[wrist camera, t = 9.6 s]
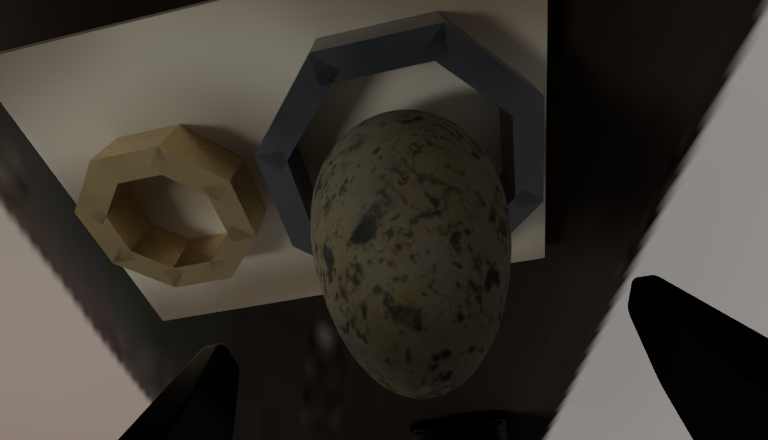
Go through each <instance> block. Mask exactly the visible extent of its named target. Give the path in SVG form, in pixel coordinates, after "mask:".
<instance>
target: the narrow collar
mask: <svg viewBox="0 0 768 440" xmlns="http://www.w3.org/2000/svg"><path fill="white" fill-rule="evenodd" d="M158 175H163V176H166V177H168V178H170V179H172V180H174V181H176V182H178V183H180V184H182V185H185V186H187V187H189V188H191V189H193V190H195V191H197V192H199V193H202V194H204V195H206V196H208V197H209V199H210V201H211V203H212V205H213V207H214V209H215V210H216V212H217V214H218V216H219V218H220V220H221V222H222V224H223V226H224V228H225V230H226V233H222V234H216V235H211V236H206V237H200V238H195V239H188V238H185V237H183V236H181V235H178V234H176V233H174V232H172V231H169V230H167V229H165V228H162V227H160V226H158V225H155V224H153V223H151V221H150V220H149V218H148V217H147V215H146V214H145V212H144V210H143V209H142V207H141V206H140V204H139V203H138V201H137V199H136V198H135V196H134V195H133V193H132V192H131V187H132V185H133V182H134V180H138V179H143V178H148V177H153V176H158ZM266 210H267V209H266V207H265V205H264V202H263V200H262V198H261V196H260V193H259V191H258V189H257V186H256V184H255V182H254V180H253V177H252V175H251V173H250V171H249V168H248V166H247V164H246V161H245V159H244V157H242V156H240V155H239V154H237V153H235V152H233V151H231V150H229V149H227V148H225V147H223V146H221V145H219V144H217V143H215V142H213V141H211V140H210V139H208V138H206V137H204V136H202V135H200V134H198V133H196V132H194V131H192V130H190V129H188V128H186V127H184V126H183V125H181V124H178V125H173V126H168V127H164V128H159V129H154V130H150V131H145V132H141V133H136V134H131V135H127V136H122V137H118V138H116V139H115V140H114V141H113V142H112V143H110V144H109V145H108V146H107V147H106V148H104V149H103V150H102V151H101V152H100V153H98V154H97V155H96V156H95V157H94V158H92V159H91V160H90V162H89V165H88V169H87V172H86V175H85V179H84V182H83V186H82V189H81V192H80V196H79V199H78V203H77V206H76V209H75V214H76V215H77V216H78V218H79V219H80V220H81V222H82V223H83V224H84V226H85V227H86V228H87V230H88V231H89V232H90V233H91V235H92V236H93V237H94V239H95V240H96V241H97V243H98V244H99V245H100V247H101V248H102V249H103V251H104V252H105V253H106V255H107V256H108V257H109V259H110V260H111V261H112V263H114V264H116V265H119V266H121V267H124V268H126V269H129V270H132V271H134V272H137V273H139V274H142V275H144V276H147V277H149V278H152V279H155V280H157V281H160V282H162V283H165V284H167V285H170V286H173V287H175V288H176V287H182V286H187V285H193V284H199V283H205V282H210V281H216V280H222V279H228V278H232V277H233V275H234V273H235V272H236V270H237V268H238V267H239V265H240V263H241V262H242V260H243V258H244V257H245V255H246V253H247V252H248V250H249V248H250V247H251V245H252V243H253V242H254V240H255V238H256V237H257V234H258V232H259V229H260V226H261V224H262V221H263V218H264V216H265V213H266Z"/></svg>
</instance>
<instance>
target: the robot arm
mask: <svg viewBox="0 0 768 440" xmlns="http://www.w3.org/2000/svg"><path fill="white" fill-rule="evenodd" d="M628 310H629V314H630V317H631V319H632V321H633V324H634V326H635V328H636V330H637V333H638V335H639V337H640V339H641V342H642V344H643V346H644V348H645V350H646V353H647V355H648V357H649V359H650V362H651V364H652V366H653V368H654V371H655V373H656V375H657V377H658V379H659V381H660V383H661V385H662V387H663V389H664V390H665V392H666V394H667V396H668V398H669V399H670V401H671V403H672V404H673V406H674V408H675V409H676V411H677V413H678V415H679V416H680V418H681V420H682V421H683V423H684V424H685V426H686V428H687V430H688V432H689V433H690V435H691V437H692V438H693V440H768V338H767V337H765V336H763V335H761V334H760V333H758V332H756V331H754V330H752V329H751V328H749V327H747V326H745V325H744V324H742V323H740V322H738V321H736V320H735V319H733V318H731V317H729V316H728V315H726V314H724V313H722V312H720V311H719V310H717V309H715V308H713V307H712V306H710V305H708V304H706V303H705V302H703V301H701V300H699V299H697V298H696V297H694V296H692V295H690V294H689V293H686V292H685V291H683V290H681V289H680V288H678V287H676V286H674V285H673V284H671V283H669V282H667V281H665V280H664V279H662V278H660V277H658V276H655V275H650V276H644V277H637V278H635V279H634V280H633V281H632V285H631V291H630V296H629V302H628ZM238 383H239V367H238V364H237V362H236V361H235V359H234V358H233V356H232V355H231V353H230V352H229V350H228V348H227V347H226V346H225V345H224V344H222V343H219V344H213V345H207V346H205V347H203V348H202V349H201V350H200V351H199V352H198V354H197V355H196V356H195V357H194V358H193V359H192V360H191V361H190V362H189V363H188V364H187V366H186V367H185V368H184V369H183V370H182V371H181V372H180V373H179V374H178V375H177V376H176V377H175V379H174V380H173V381H172V382H171V383H170V384H169V385H168V386H167V387H166V388H165V389H164V390H163V392H162V393H161V394H160V395H159V396H158V397H157V398H156V399H155V400H154V401H153V402H152V404H151V405H150V406H149V407H148V408H147V409H146V410H145V411H144V412H143V413H142V414H141V415H140V417H139V418H138V419H137V420H136V421H135V422H134V423H133V424H132V425H131V426H130V427H129V429H128V430H127V431H126V432H125V433H124V434H123V435H122V436H121V437H120V438H119V439H118V440H232V438H233V430H234V421H235V412H236V402H237V393H238ZM410 430H411V437H412V440H507V429H506V420H505V417H504V415H503V414H500V413H497V414H489V415H481V416H474V417H466V418H458V419H451V420H443V421H435V422H428V423H420V424H414V425H412V426H411V427H410Z"/></svg>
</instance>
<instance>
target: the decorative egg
mask: <svg viewBox="0 0 768 440" xmlns="http://www.w3.org/2000/svg"><path fill="white" fill-rule="evenodd" d="M310 228H311V244H312V251H313V258H314V263H315V268H316V272H317V276H318V279H319V283H320V286H321V289H322V293H323V296H324V299H325V302H326V304H327V307H328V310H329V312H330V315H331V317H332V319H333V321H334V324H335V326H336V328H337V330H338V332H339V334H340V336H341V338H342V339H343V341H344V343H345V344H346V346H347V347H348V349H349V351H350V352H351V354H352V355H353V357H354V358H355V359H356V360H357V362H358V363H359V364H360V366H361V367H362V368H363V369H364V370H365V371H366V372H367V373H368V374H369V375H370V376H371V377H372V378H373V379H374V380H376V381H377V382H378V383H380V384H381V385H382V386H384V387H385V388H387V389H389V390H390V391H392V392H395V393H397V394H400V395H402V396H406V397H411V398H417V399H428V398H434V397H438V396H441V395H444V394H446V393H449V392H450V391H452V390H454V389H455V388H457V387H459V386H460V385H461V384H462V383H464V382H465V381H466V380H467V379H468V378H469V377H470V376H471V375H472V374H473V373H474V371H475V370H476V369H477V368H478V367H479V365H480V364H481V362H482V361H483V359H484V357H485V356H486V354H487V352H488V351H489V349H490V347H491V345H492V342H493V340H494V338H495V336H496V333H497V331H498V328H499V325H500V322H501V319H502V316H503V313H504V310H505V306H506V300H507V294H508V290H509V277H510V267H511V247H512V243H511V225H510V218H509V211H508V205H507V201H506V197H505V193H504V190H503V187H502V184H501V181H500V178H499V176H498V174H497V171H496V169H495V167H494V165H493V164H492V162H491V160H490V158H489V157H488V155H487V154H486V152H485V151H484V150H483V148H482V147H481V146H480V144H479V143H478V142H477V141H476V140H475V139H474V138H473V137H472V136H471V135H470V134H469V133H467V132H466V131H465V130H464V129H463V128H461V127H460V126H458V125H457V124H455V123H453V122H452V121H450V120H448V119H446V118H444V117H441V116H439V115H436V114H433V113H429V112H425V111H420V110H394V111H388V112H384V113H381V114H378V115H375V116H373V117H370V118H368V119H366V120H364V121H362V122H361V123H359V124H358V125H356V126H355V127H353V128H352V129H351V130H349V131H348V132H347V133H346V134H345V135H344V136H343V137H342V138H341V139H340V140H339V141H338V142H337V143H336V145H335V146H334V147H333V148H332V150H331V151H330V153H329V154H328V156H327V158H326V159H325V161H324V163H323V165H322V167H321V170H320V172H319V175H318V178H317V181H316V184H315V188H314V192H313V198H312V206H311V219H310Z"/></svg>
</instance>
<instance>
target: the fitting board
mask: <svg viewBox="0 0 768 440" xmlns="http://www.w3.org/2000/svg"><path fill="white" fill-rule="evenodd" d="M433 11H437V12H438V13H440V14H441V15H442V16H444V17H445V18H446V19H448V20H449V21H450V22H452V23H453V24H454V25H456V26H457V27H458V28H460V29H461V30H462V31H464V32H465V33H466V34H468V35H469V36H470V37H472V38H473V39H474V40H476V41H477V42H478V43H480V44H481V45H482V46H484V47H485V48H486V49H488V50H489V51H490V52H491V53H493V54H494V55H495V56H497V57H498V58H499V59H501V60H502V61H503V62H505V63H506V64H507V65H509V66H510V67H511V68H513V69H514V70H515V71H517V72H518V73H519V74H521V75H522V76H523V77H525V78H526V79H527V80H528V81H529V82H530V83H531V84H532V85H533V86H534V87H535V88H536V89H537V90H538V91H539V92H540V93H541V94H542V95H543V96H544V187H543V202H542V203H541V204H540V205H539V206H538V207H537V208H536V209H535V210H534V211H533V212H532V213H531V214H530V215H529V216H528V217H527V218H526V219H525V220H524V221H523V222H522V223H521V224H520V225H519V226H518V227H517V228H516V229H515V230H514V231H513V232H512V233H511V243H512V247H511V263H515V262H521V261H527V260H533V259H539V258H545V190H546V101H547V12H548V0H208V1H204V2H200V3H196V4H192V5H188V6H184V7H180V8H176V9H172V10H168V11H164V12H160V13H156V14H151V15H147V16H143V17H139V18H135V19H131V20H127V21H123V22H119V23H115V24H111V25H107V26H103V27H99V28H94V29H90V30H86V31H82V32H78V33H74V34H70V35H66V36H62V37H58V38H54V39H50V40H46V41H42V42H37V43H33V44H29V45H25V46H21V47H17V48H13V49H9V50H5V51H1V52H0V102H1V103H2V104H3V106H4V107H5V109H6V110H7V111H8V113H9V114H10V115H11V117H12V118H13V119H14V121H15V122H16V123H17V125H18V126H19V127H20V129H21V130H22V131H23V133H24V134H25V135H26V137H27V138H28V140H29V141H30V142H31V144H32V145H33V146H34V148H35V149H36V150H37V152H38V153H39V154H40V156H41V157H42V158H43V160H44V161H45V162H46V164H47V165H48V166H49V168H50V169H51V170H52V172H53V173H54V175H55V176H56V177H57V179H58V180H59V181H60V183H61V184H62V185H63V187H64V188H65V189H66V191H67V192H68V193H69V195H70V196H71V197H72V199H73V200H74V201H75V203H76V204H77V203H78V199H79V196H80V192H81V189H82V186H83V182H84V179H85V175H86V172H87V169H88V165H89V162H90V160H91V159H92V158H94V157H95V156H96V155H97V154H98V153H100V152H101V151H102V150H103V149H104V148H106V147H107V146H108V145H109V144H110V143H112V142H113V141H114V140H115V139H116V138H118V137H122V136H127V135H131V134H136V133H141V132H145V131H150V130H154V129H159V128H164V127H168V126H173V125H178V124H181V125H183V126H184V127H186V128H188V129H190V130H192V131H194V132H196V133H198V134H200V135H202V136H204V137H206V138H208V139H210V140H211V141H213V142H215V143H217V144H219V145H221V146H223V147H225V148H227V149H229V150H231V151H233V152H235V153H237V154H239V155H240V156H242V157H244V159H245V161H246V164H247V166H248V168H249V171H250V173H251V175H252V177H253V180H254V182H255V184H256V186H257V189H258V191H259V193H260V196H261V198H262V200H263V202H264V205H265V207H266V209H267V210H266V213H265V216H264V218H263V221H262V224H261V226H260V229H259V232H258V234H257V237H256V238H255V240H254V242H253V243H252V245H251V247H250V248H249V250H248V252H247V253H246V255H245V257H244V258H243V260H242V262H241V263H240V265H239V267H238V268H237V270H236V272H235V273H234V275H233V277H232V278H228V279H222V280H216V281H210V282H205V283H199V284H193V285H187V286H182V287H176V288H175V287H173V286H170V285H167V284H165V283H162V282H160V281H157V280H155V279H152V278H149V277H147V276H144V275H142V274H139V273H137V272H134V271H132V270H129V269H126V268H124V267H123V268H124V269H125V270H126V272H127V273H128V274H129V276H130V277H131V278H132V280H133V281H134V282H135V284H136V285H137V286H138V288H139V289H140V290H141V292H142V293H143V294H144V296H145V297H146V298H147V300H148V301H149V303H150V304H151V305H152V307H153V308H154V309H155V311H156V312H157V313H158V315H159V316H160V317H161V319H162V320H163V321H165V320H171V319H178V318H184V317H190V316H196V315H202V314H208V313H214V312H220V311H226V310H232V309H238V308H244V307H250V306H256V305H262V304H268V303H274V302H280V301H286V300H292V299H298V298H304V297H310V296H316V295H322V294H323V293H322V289H321V286H320V283H319V279H318V276H317V272H316V268H315V263H314V258H313V256H312V255H310V254H308V253H306V252H303V251H301V250H299V249H297V248H295V247H293V246H292V244H291V241H290V239H289V236H288V234H287V232H286V229H285V227H284V225H283V222H282V220H281V218H280V215H279V213H278V211H277V208H276V206H275V203H274V201H273V199H272V196H271V194H270V192H269V189H268V187H267V185H266V182H265V180H264V177H263V175H262V173H261V170H260V168H259V166H258V163H257V161H256V159H255V156H254V155H255V154H256V152H257V150H258V148H259V146H260V144H261V142H262V140H263V138H264V136H265V134H266V133H267V131H268V129H269V127H270V125H271V123H272V121H273V119H274V118H275V116H276V114H277V112H278V110H279V108H280V106H281V104H282V103H283V101H284V99H285V97H286V95H287V93H288V91H289V89H290V87H291V86H292V84H293V82H294V80H295V78H296V76H297V74H298V72H299V70H300V69H301V67H302V65H303V63H304V61H305V59H306V57H307V55H308V54H309V52H310V50H311V48H312V46H313V44H314V42H315V40H316V38H320V37H324V36H329V35H333V34H337V33H342V32H346V31H350V30H355V29H359V28H363V27H368V26H372V25H377V24H381V23H385V22H390V21H394V20H398V19H403V18H407V17H411V16H416V15H420V14H424V13H429V12H433ZM394 110H420V111H425V112H429V113H433V114H436V115H439V116H441V117H444V118H446V119H448V120H450V121H452V122H453V123H455V124H457V125H458V126H460V127H461V128H463V129H464V130H465V131H466V132H467V133H469V134H470V135H471V136H472V137H473V138H474V139H475V140H476V141H477V142H478V143H479V144H480V146H481V147H482V148H483V150H484V151H485V152H486V154H487V155H488V157H489V158H490V160H491V162H492V164H493V165H494V167H495V169H496V171H497V174H498V176H500V174H501V173H502V172H503V171H502V153H501V134H500V116H499V106H498V105H496V104H495V103H494V102H492V101H491V100H489V99H488V98H486V97H485V96H484V95H482V94H481V93H479V92H478V91H477V90H475V89H474V88H472V87H471V86H469V85H468V84H467V83H465V82H464V81H462V80H461V79H460V78H458V77H457V76H455V75H454V74H452V73H451V72H450V71H448V70H447V69H445V68H444V67H443V66H441V65H440V64H438V63H437V62H435V61H432V62H427V63H423V64H418V65H413V66H409V67H404V68H400V69H395V70H390V71H386V72H381V73H377V74H372V75H367V76H363V77H358V78H354V79H349V80H344V81H340V82H335V83H332V85H331V86H330V88H329V90H328V91H327V93H326V95H325V97H324V98H323V100H322V102H321V103H320V105H319V107H318V109H317V110H316V112H315V114H314V115H313V117H312V119H311V121H310V122H309V124H308V126H307V128H306V129H305V131H304V133H303V134H302V136H301V138H300V140H299V141H298V143H297V144H298V147H299V150H300V153H301V155H302V158H303V161H304V164H305V167H306V170H307V172H308V175H309V178H310V181H311V184H312V187H313V189H314V188H315V184H316V181H317V178H318V175H319V172H320V170H321V167H322V165H323V163H324V161H325V159H326V158H327V156H328V154H329V153H330V151H331V150H332V148H333V147H334V146H335V145H336V143H337V142H338V141H339V140H340V139H341V138H342V137H343V136H344V135H345V134H346V133H347V132H348V131H349V130H351V129H352V128H353V127H355V126H356V125H358V124H359V123H361V122H362V121H364V120H366V119H368V118H370V117H373V116H375V115H378V114H381V113H384V112H388V111H394ZM131 192H132V193H133V195H134V196H135V198H136V199H137V201H138V203H139V204H140V206H141V207H142V209H143V210H144V212H145V214H146V215H147V217H148V218H149V220H150V221H151V223H153V224H155V225H158V226H160V227H162V228H165V229H167V230H169V231H172V232H174V233H176V234H178V235H181V236H183V237H185V238H188V239H195V238H200V237H206V236H211V235H216V234H222V233H226V230H225V228H224V226H223V224H222V222H221V220H220V218H219V216H218V214H217V212H216V210H215V209H214V207H213V205H212V203H211V201H210V199H209V197H208V196H206V195H204V194H202V193H199V192H197V191H195V190H193V189H191V188H189V187H187V186H185V185H182V184H180V183H178V182H176V181H174V180H172V179H170V178H168V177H166V176H163V175H158V176H153V177H148V178H143V179H138V180H134V182H133V185H132V187H131Z"/></svg>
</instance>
